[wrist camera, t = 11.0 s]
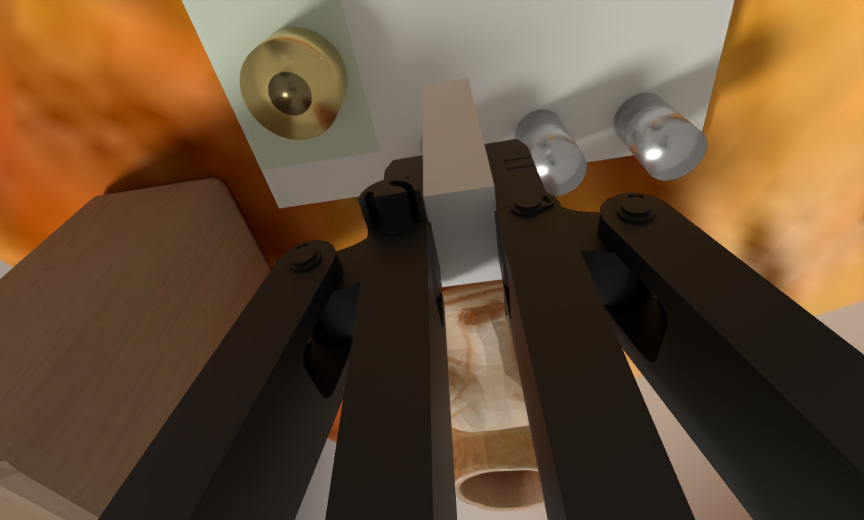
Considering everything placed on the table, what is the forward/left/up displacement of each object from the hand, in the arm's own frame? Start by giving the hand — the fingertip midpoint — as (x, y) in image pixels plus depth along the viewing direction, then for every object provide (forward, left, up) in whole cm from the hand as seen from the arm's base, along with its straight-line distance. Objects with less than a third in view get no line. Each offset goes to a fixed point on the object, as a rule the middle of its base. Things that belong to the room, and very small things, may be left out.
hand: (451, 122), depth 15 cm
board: (+1, +1, -12) cm, 12 cm away
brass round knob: (0, -8, -11) cm, 14 cm away
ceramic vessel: (+22, +1, -13) cm, 26 cm away
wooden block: (+11, -21, -12) cm, 27 cm away
